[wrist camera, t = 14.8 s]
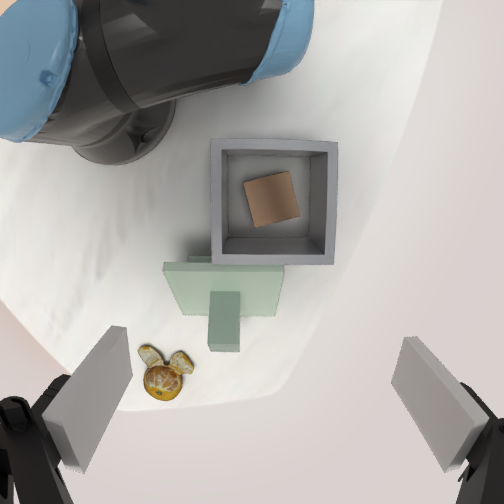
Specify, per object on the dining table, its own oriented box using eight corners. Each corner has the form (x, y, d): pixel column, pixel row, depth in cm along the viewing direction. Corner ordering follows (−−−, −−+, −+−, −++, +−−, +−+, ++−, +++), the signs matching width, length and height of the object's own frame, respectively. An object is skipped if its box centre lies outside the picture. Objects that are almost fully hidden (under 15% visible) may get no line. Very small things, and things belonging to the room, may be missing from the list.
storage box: (219, 245, 40) (211, 264, 32) (219, 147, 38) (210, 139, 29) (315, 245, 40) (333, 264, 32) (318, 149, 38) (338, 142, 29)
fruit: (195, 355, 43) (191, 370, 40) (190, 397, 46) (186, 413, 42) (138, 342, 43) (131, 357, 39) (138, 385, 45) (131, 400, 42)
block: (254, 221, 40) (255, 227, 35) (243, 182, 39) (243, 182, 34) (293, 211, 40) (300, 216, 35) (283, 171, 39) (288, 171, 34)
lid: (185, 294, 43) (179, 358, 39) (166, 245, 33) (155, 328, 28) (274, 295, 43) (276, 360, 39) (282, 246, 33) (286, 330, 29)
